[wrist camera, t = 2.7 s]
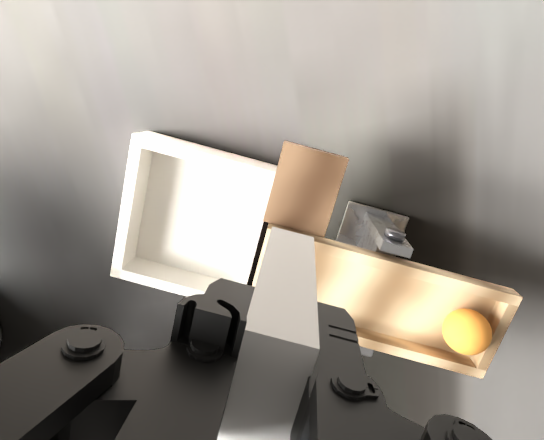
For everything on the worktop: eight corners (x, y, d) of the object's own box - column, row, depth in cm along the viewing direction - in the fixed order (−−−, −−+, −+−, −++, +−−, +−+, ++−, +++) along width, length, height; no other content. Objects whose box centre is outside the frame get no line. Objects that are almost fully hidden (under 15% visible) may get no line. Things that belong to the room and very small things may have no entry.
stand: (316, 298, 42) (320, 350, 34) (349, 199, 39) (363, 227, 30) (371, 313, 42) (389, 368, 34) (407, 215, 39) (439, 248, 30)
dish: (126, 260, 43) (109, 276, 39) (148, 130, 39) (131, 133, 35) (244, 292, 43) (239, 310, 39) (278, 165, 39) (276, 172, 35)
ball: (429, 332, 33) (444, 358, 30) (445, 295, 32) (462, 318, 29) (470, 343, 33) (489, 370, 30) (487, 306, 32) (509, 330, 29)
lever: (242, 299, 35) (237, 313, 32) (284, 140, 31) (283, 143, 28) (469, 360, 35) (482, 378, 32) (541, 210, 31) (562, 219, 28)
